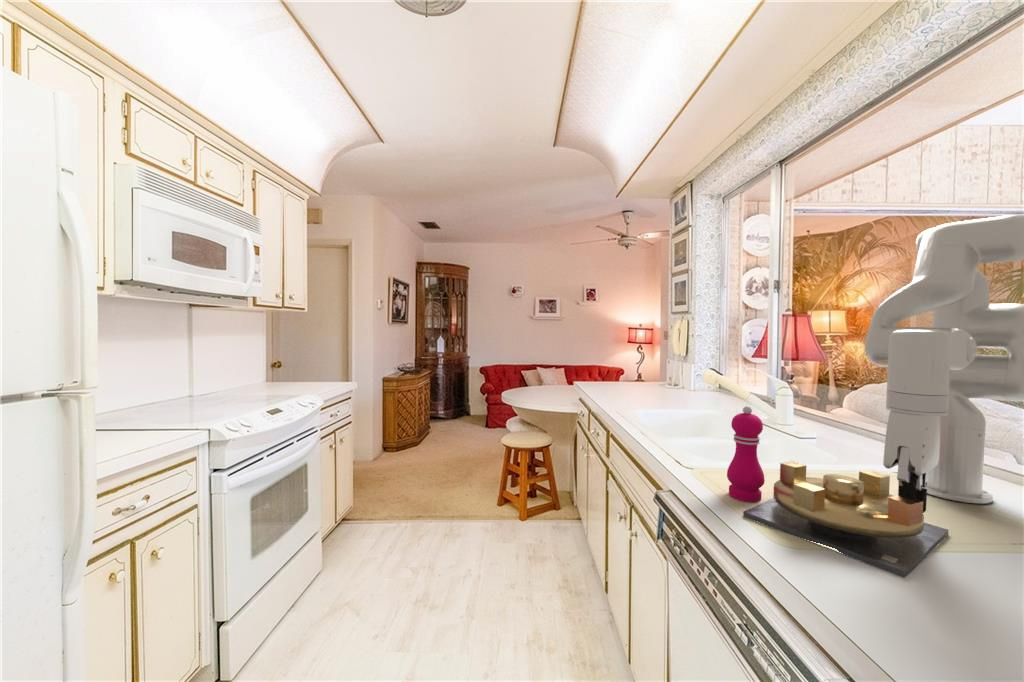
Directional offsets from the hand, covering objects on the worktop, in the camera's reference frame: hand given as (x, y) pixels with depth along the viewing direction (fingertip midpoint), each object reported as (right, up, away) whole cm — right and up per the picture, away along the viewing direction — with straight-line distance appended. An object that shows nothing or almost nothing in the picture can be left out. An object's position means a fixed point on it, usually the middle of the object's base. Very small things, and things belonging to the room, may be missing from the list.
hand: (911, 509), depth 72 cm
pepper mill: (-17, -6, +21) cm, 28 cm away
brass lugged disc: (-6, -3, +8) cm, 10 cm away
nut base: (-6, -6, +8) cm, 11 cm away
